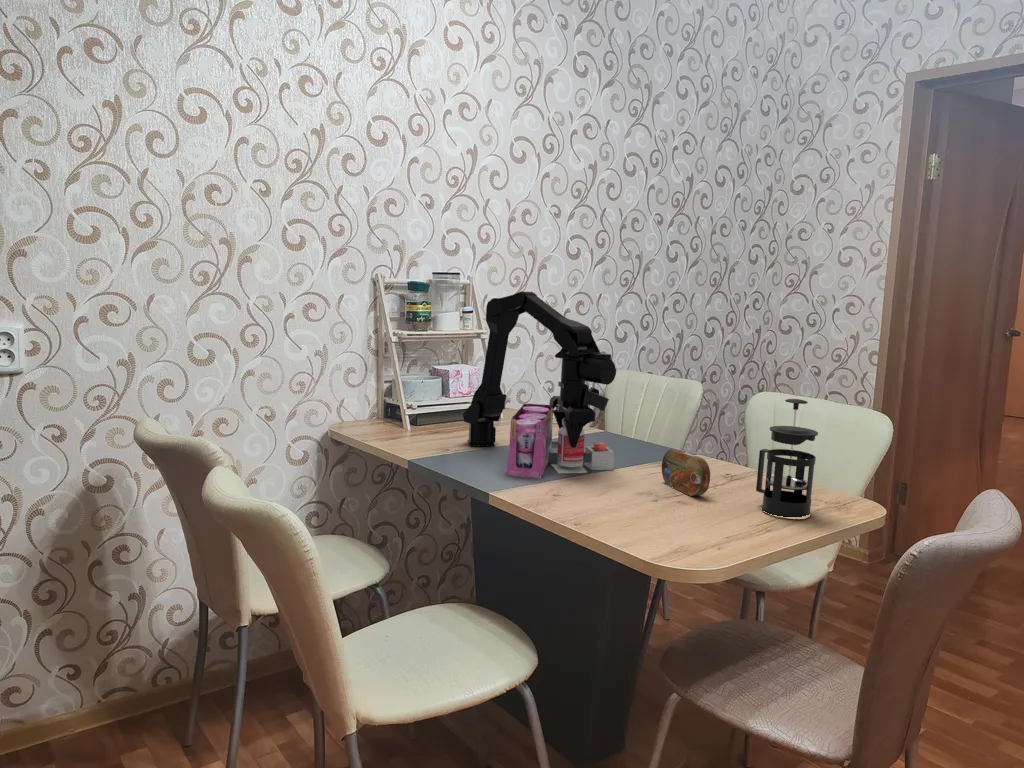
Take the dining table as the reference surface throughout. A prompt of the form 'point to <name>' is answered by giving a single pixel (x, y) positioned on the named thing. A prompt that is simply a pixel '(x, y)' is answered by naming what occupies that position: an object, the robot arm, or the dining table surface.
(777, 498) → the french press
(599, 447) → the button
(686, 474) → the tin
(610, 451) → the housing
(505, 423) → the dining table surface
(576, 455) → the pill bottle
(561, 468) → the pad
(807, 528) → the dining table surface
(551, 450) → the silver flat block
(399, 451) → the dining table surface
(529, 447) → the gum box
